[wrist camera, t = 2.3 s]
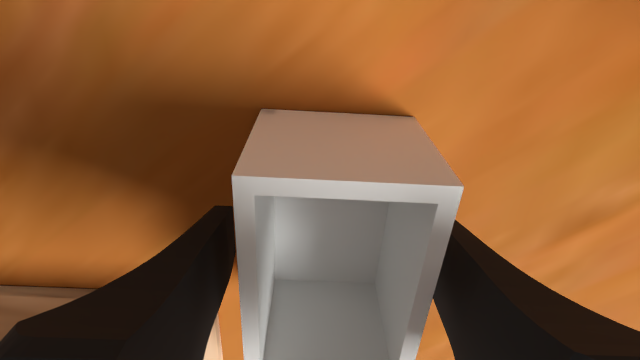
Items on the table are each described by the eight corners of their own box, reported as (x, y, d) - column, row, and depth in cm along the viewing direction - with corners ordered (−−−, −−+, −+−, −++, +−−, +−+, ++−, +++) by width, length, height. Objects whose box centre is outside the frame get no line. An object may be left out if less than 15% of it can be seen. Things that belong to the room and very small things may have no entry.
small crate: (382, 284, 17) (406, 391, 12) (264, 279, 17) (245, 386, 12) (414, 117, 13) (463, 186, 8) (261, 108, 13) (231, 175, 8)
